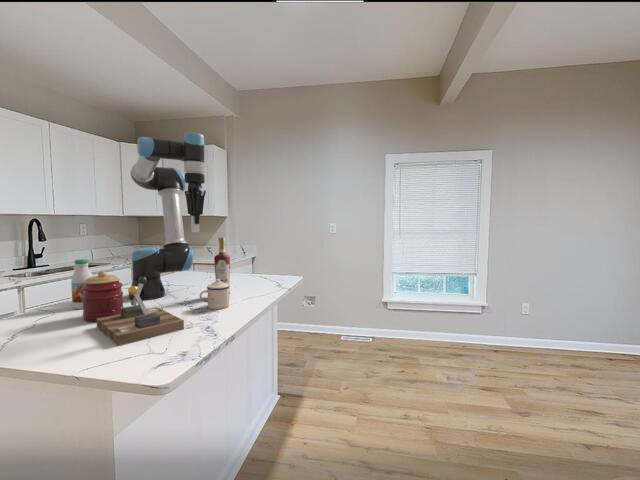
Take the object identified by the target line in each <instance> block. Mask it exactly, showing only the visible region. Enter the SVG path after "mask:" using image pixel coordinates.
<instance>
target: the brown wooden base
mask: <svg viewBox="0 0 640 480" xmlns="http://www.w3.org/2000/svg"><path fill="white" fill-rule="evenodd" d="M146 309H147V311H148V312H149V313H148V314H147V315H144V314H143V312H142V310H141V308H140V306H139V305H138V304H136V306H133V305H130V306H125V307H124V306H123V308H121V314H118V315H113V316H108V317H103V318H98V319H96V320H97V322H96V328H97V329H98V330H99V331H101V332H102V333H103V334H104V335H105V336H106V337H107V338H108V339H110V341H112V342H113V343H114V344H116V345H117V346H118V347H119V346H122V345H126V344H130V343H134V342H137V341H138V342H139V341H142V340H145V339H149V338H154V337H157V336H161V335H165V334H169V333H172V332H173V333H174V332H177V331H181V330H184V329H185V321H184V319H182V318H180V317H178V316H176V315H174V314H172V313H170V312H168V311H166V310H164V309H162V308H159V307H158V306H156V307H151V308H150V307H149V308H146Z"/></svg>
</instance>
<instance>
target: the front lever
mask: <svg viewBox="0 0 640 480" xmlns="http://www.w3.org/2000/svg"><path fill="white" fill-rule="evenodd" d="M127 291H128V294H129V293H130V294H131V295H133V296H134V298H135V299H136V301H137V303H136V304H137V305H139V306H140V308H141V310H142V312H143V314H144V315H147V314H148V313H149V312H148V311H147V309H148V308H147V307H146V305H145V303H144V302H143V300H141V298H140V296H139V294H138V293H137V292H138V288H137V287H136V286H130V287H128V290H127Z"/></svg>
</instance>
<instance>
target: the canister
mask: <svg viewBox="0 0 640 480" xmlns="http://www.w3.org/2000/svg"><path fill="white" fill-rule="evenodd" d="M120 280H121V278H120V277H118V276H116V275H113V274H107V272H106V271H105V270H100V271H98V273H97V275H94V276H93V277H89V278H88V279H87V280H85V281H84V283H86V284H85V286H83V287H82V288H81V289H82V290H83V296H82V299H83V309H82V317H83V320H84V321H86V322H91V323H92V322H93V323H95V322H96V323H97V320H96V319H98V318H103V317H108V316H113V315H118V314H121V308H124V301H123V300H124V297H123V295H124V292H123V291H122V287H123V283H121V281H120Z"/></svg>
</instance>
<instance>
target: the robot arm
mask: <svg viewBox="0 0 640 480" xmlns="http://www.w3.org/2000/svg"><path fill="white" fill-rule="evenodd" d="M136 144H137V145H136V146H137V154H138V158H137V161H136V163H135V164H134V165H132V166H131V168H130V177H131V179H132V181H133V182H134V184H136V185H138V186H139V187H141V188H143V189H146V190H151V191H157V195H158V196H159V197H161V203H162V211H163V212H162V213H163V223H164V225H163V226H164V234H165V235H164V236H165V243H164V244H163V245H162V246H163V247H162V248H161V247H160V246H159V245H154V246H151V245H149V246H144V247H139V248H136V249H134V250H133V251H132V252H131V263H132V270H131V271H132V283H131V286H136V287H138V284H139V282H138V279H139V278H140V277H142V276H144V277H146V278H147V282H146V283H145V284H144V285H143V287H142V290H141V292H140V295H139V296H140V298H141V300H142V301H145V300H153V299H154V300H155V299H158V298H159V299H160V298H162V297H165V295H166V289H165V287H164V285H163V282H162V280H161V278H162V277H161V274H164V273H165V274H166V273H174V272H179V273H180V272H184V271H185V272H186V271H189V270H191V268H192V266H193V263H194V255H195V254H194V249H193V247H191V246H190V245H189V243H188V242H187V240H186V239H185V232H184V223H183V213H182V204H181V203H182V202H181V196H182V195H183V193H184V195H185V200H186V207H187V208H186V209H187V214H188V215H190V219H191V221H190V222H191V228H190V229H191V233H200V231H201V230H200V216H201V215H203V213H204V204H205V197H206V192H207V191H206V190H205V189H204V190H203V186H202V184H205V182H206V179H205V177H206V176H205V174H204V173H205V168H206V166H205V137H204V135H203V134H202V133H199V132H191V131H188V132H185V133H184V135H183V139H182V141H179V140H170V139H162V138H154V137H150V136H140V137H138V139H137V143H136ZM161 159H165V160H174V161H175V160H176V161H180V162H183V166H184V167H183V169H184V172H185V173H184V172H183V171H182V170H181V169H179V168H175V167H164V166H162V167H160V166H158V164H159V162H160V161H161ZM186 184H187V187H186ZM186 188H187V190H186ZM131 286H130V287H131ZM128 298H129V300H133V298H134V296H133V295H131V294H130V293H129V292H128Z"/></svg>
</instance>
